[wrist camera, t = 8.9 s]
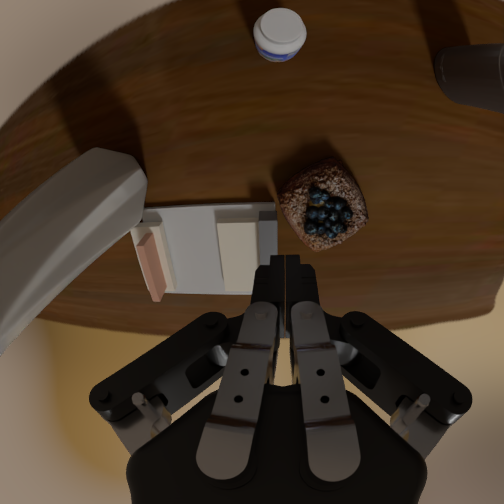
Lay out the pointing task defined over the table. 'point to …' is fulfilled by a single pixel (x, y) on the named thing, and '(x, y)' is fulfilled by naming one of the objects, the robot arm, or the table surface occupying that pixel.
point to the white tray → (217, 244)
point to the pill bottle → (279, 34)
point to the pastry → (323, 204)
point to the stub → (154, 258)
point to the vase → (64, 232)
